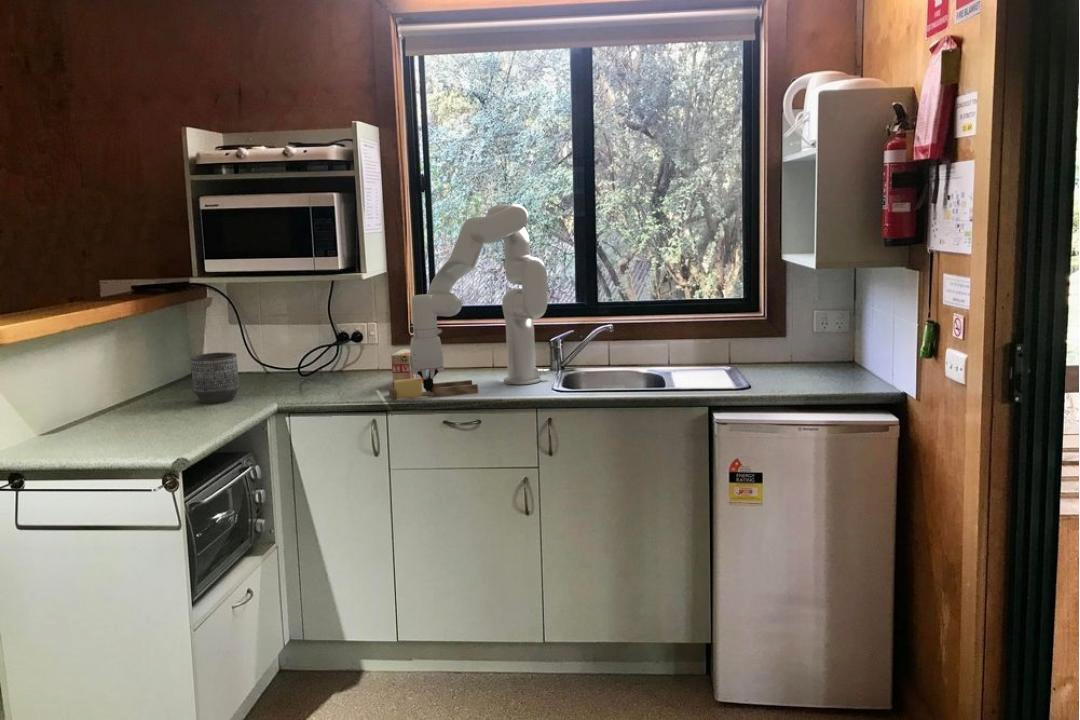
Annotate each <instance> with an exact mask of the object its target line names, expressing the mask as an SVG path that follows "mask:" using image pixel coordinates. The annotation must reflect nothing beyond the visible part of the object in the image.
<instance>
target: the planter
mask: <svg viewBox="0 0 1080 720" xmlns="http://www.w3.org/2000/svg"><path fill="white" fill-rule="evenodd" d="M190 369H191V377H192V390H193V392H194V394H195V396H196V397H197V398H198V399H199V401H200V402H201V403H202V404H204V405H205V404H206V405H216V404H218V405H219V404H225V403H229V402H232V401H234V399H235V398H236V395H237V393H238V391H239V389H240V377H239V367H238V356H237V353H235V352H225V351H224V352H210V353H209V352H208V353H202V354H197V355H193V356H190Z"/></svg>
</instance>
